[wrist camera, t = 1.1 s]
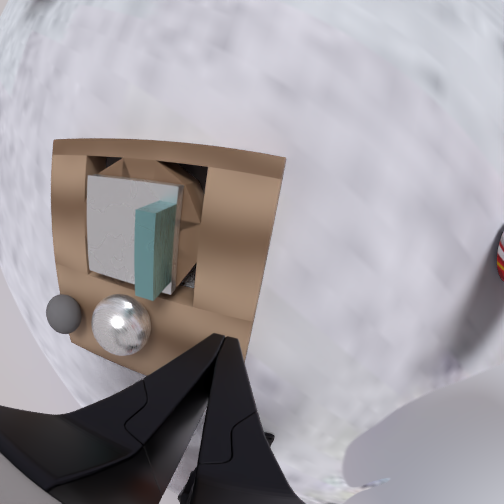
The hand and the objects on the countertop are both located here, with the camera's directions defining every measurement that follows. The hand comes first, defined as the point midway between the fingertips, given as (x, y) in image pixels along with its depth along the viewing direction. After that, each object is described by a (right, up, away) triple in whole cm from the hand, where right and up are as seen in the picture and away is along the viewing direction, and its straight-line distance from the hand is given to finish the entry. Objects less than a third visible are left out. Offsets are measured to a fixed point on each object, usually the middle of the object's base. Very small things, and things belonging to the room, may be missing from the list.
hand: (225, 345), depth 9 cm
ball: (-8, -2, +9) cm, 12 cm away
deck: (-7, +2, +12) cm, 14 cm away
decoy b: (-16, -2, +11) cm, 19 cm away
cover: (-7, +5, +8) cm, 12 cm away
